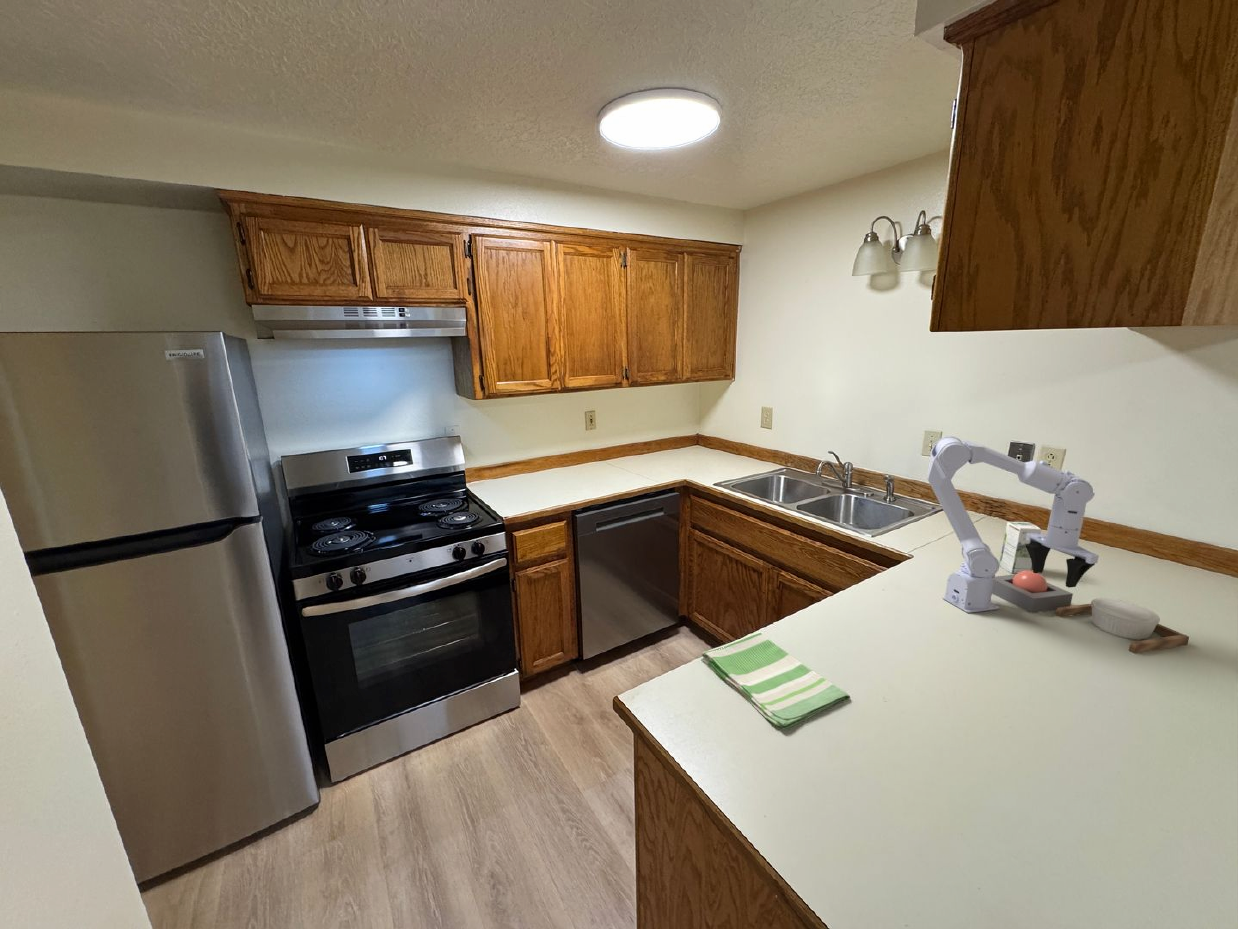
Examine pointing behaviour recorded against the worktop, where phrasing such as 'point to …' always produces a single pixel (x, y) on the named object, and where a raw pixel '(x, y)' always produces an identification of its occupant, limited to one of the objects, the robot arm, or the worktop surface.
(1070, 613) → the bent wooden slat
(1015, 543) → the syrup box
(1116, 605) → the ramekin
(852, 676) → the worktop surface
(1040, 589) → the salmon pink ball
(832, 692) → the dish towel
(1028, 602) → the base
